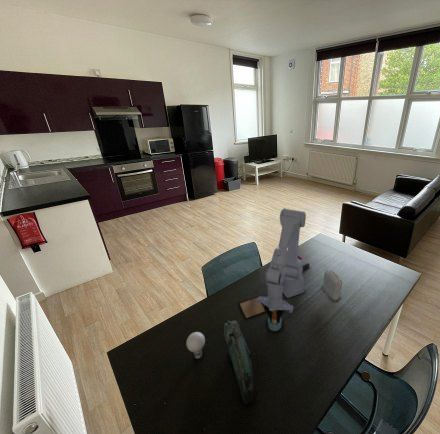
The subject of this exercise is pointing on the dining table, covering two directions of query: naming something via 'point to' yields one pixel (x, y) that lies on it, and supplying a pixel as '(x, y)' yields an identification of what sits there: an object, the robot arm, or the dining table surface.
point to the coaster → (252, 308)
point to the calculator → (305, 263)
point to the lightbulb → (196, 343)
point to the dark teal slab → (240, 359)
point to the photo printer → (332, 284)
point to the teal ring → (274, 327)
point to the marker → (274, 318)
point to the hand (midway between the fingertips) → (274, 319)
